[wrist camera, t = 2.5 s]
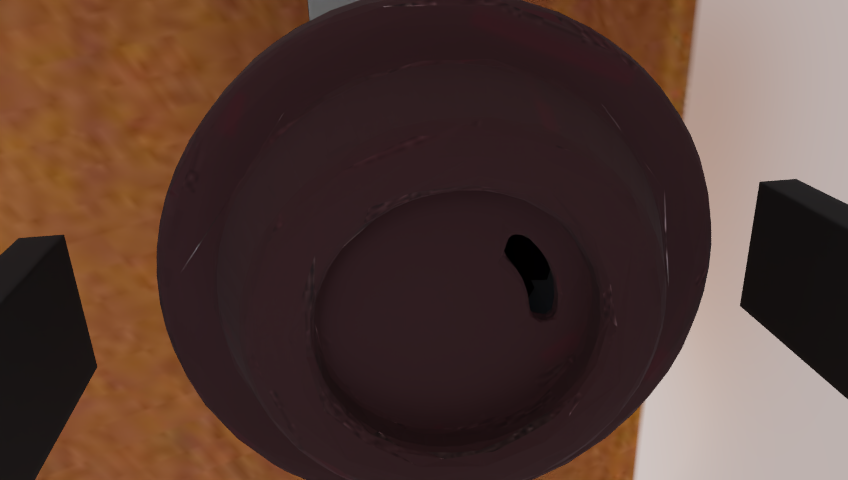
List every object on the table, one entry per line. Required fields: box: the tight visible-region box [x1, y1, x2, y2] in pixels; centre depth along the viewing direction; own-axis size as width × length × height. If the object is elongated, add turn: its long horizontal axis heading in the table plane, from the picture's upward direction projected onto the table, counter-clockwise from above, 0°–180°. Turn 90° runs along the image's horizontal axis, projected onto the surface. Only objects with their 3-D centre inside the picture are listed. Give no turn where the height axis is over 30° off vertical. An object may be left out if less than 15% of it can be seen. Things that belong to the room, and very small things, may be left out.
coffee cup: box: [157, 0, 711, 480], centre depth 18 cm, size 10×10×15 cm
